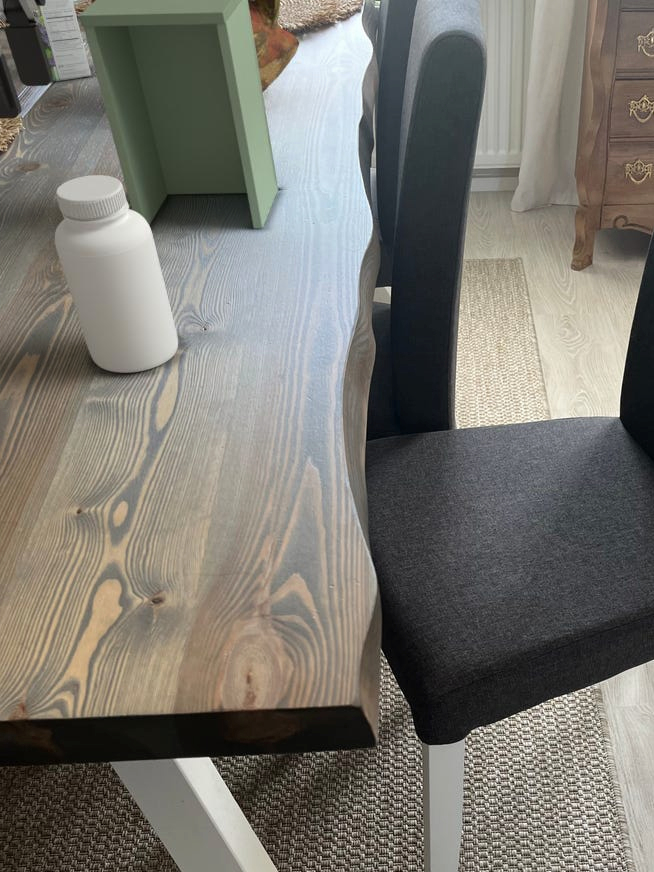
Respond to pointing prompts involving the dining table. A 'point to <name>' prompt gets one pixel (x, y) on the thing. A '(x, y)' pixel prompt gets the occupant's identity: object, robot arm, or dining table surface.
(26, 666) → the dining table surface
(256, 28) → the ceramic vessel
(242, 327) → the dining table surface
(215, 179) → the cabinet
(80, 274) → the pill bottle
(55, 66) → the syrup box
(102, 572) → the dining table surface
